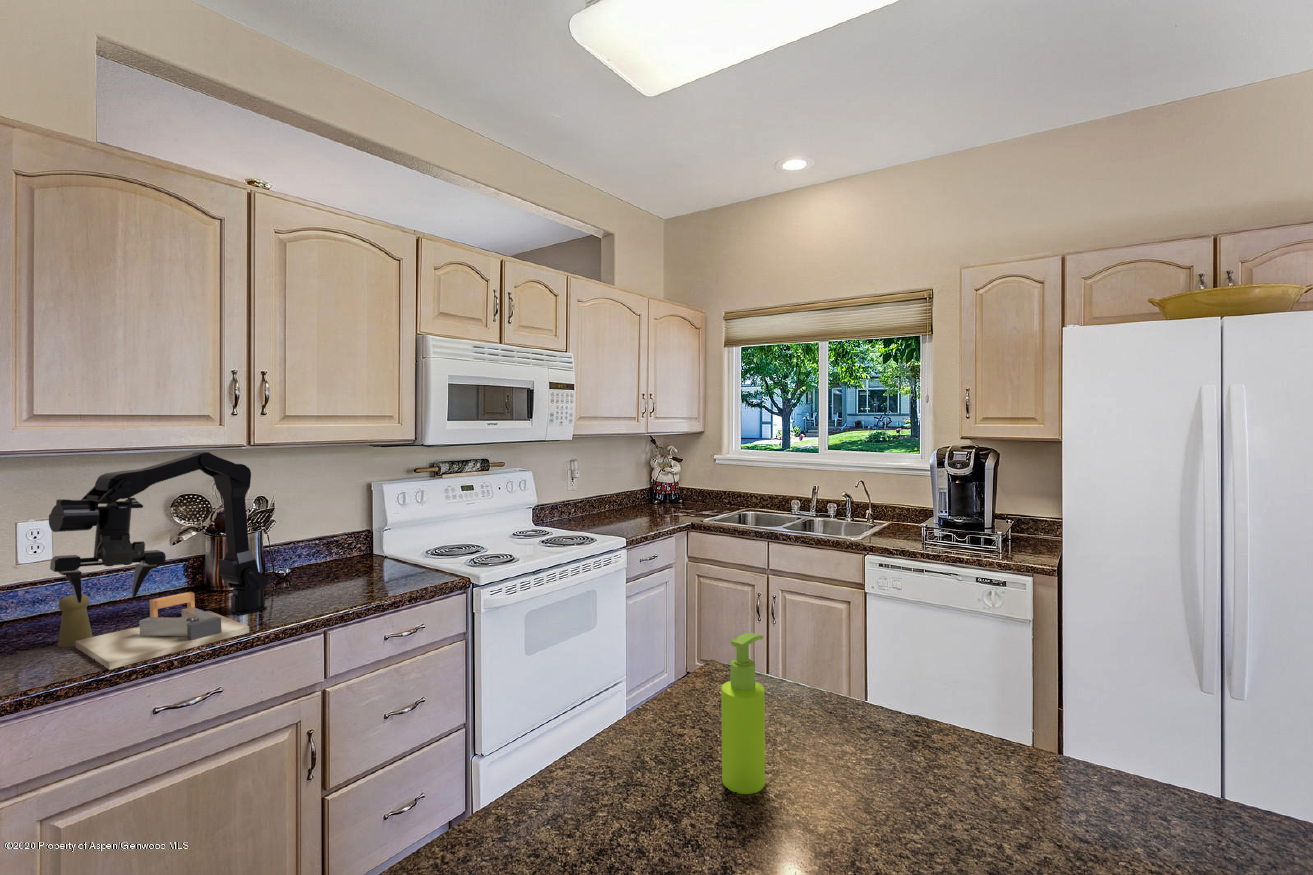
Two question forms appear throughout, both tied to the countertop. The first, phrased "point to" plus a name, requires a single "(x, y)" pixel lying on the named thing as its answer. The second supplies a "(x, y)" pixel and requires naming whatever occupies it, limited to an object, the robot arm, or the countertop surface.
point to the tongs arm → (165, 626)
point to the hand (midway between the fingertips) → (107, 599)
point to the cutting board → (148, 644)
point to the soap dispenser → (743, 723)
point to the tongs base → (201, 623)
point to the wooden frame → (171, 602)
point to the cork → (74, 621)
